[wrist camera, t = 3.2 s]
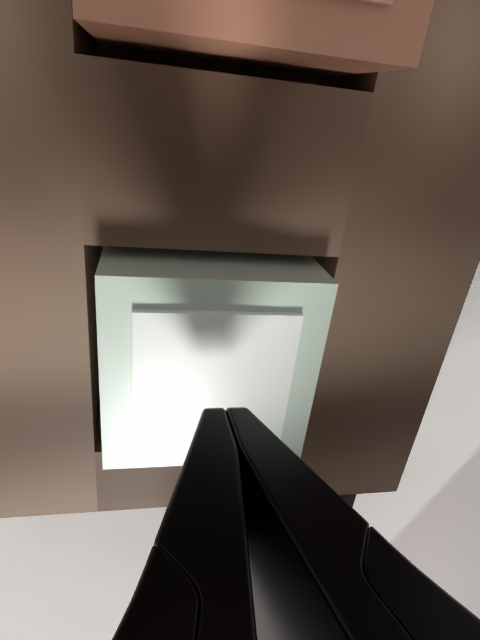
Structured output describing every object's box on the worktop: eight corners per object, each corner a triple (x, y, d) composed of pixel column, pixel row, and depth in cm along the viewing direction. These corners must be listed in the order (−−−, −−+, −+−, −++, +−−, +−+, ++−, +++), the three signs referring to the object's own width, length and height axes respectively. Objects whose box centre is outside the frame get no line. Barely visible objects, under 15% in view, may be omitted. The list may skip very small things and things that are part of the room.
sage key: (269, 383, 15) (301, 463, 12) (113, 385, 14) (102, 474, 11) (293, 237, 13) (341, 286, 9) (110, 226, 12) (93, 278, 8)
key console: (339, 398, 19) (396, 491, 14) (6, 404, 16) (-48, 521, 12) (504, -260, 10) (760, -515, 6) (-130, -467, 8) (-493, -1184, 3)
